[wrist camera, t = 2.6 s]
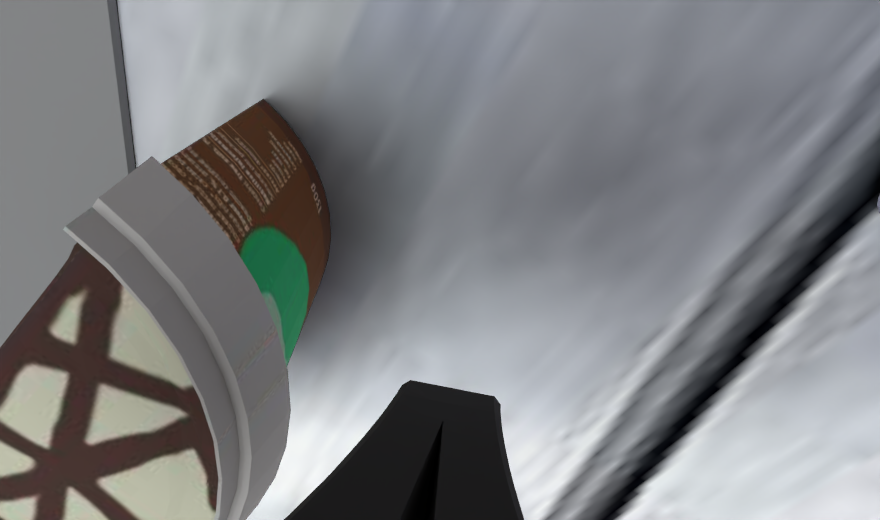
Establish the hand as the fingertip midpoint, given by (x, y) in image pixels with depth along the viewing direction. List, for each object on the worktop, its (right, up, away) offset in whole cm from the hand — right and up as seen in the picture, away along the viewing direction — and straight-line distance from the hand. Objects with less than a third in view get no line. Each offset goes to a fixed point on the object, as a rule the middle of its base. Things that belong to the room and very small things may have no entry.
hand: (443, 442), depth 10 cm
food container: (-6, +2, +12) cm, 14 cm away
